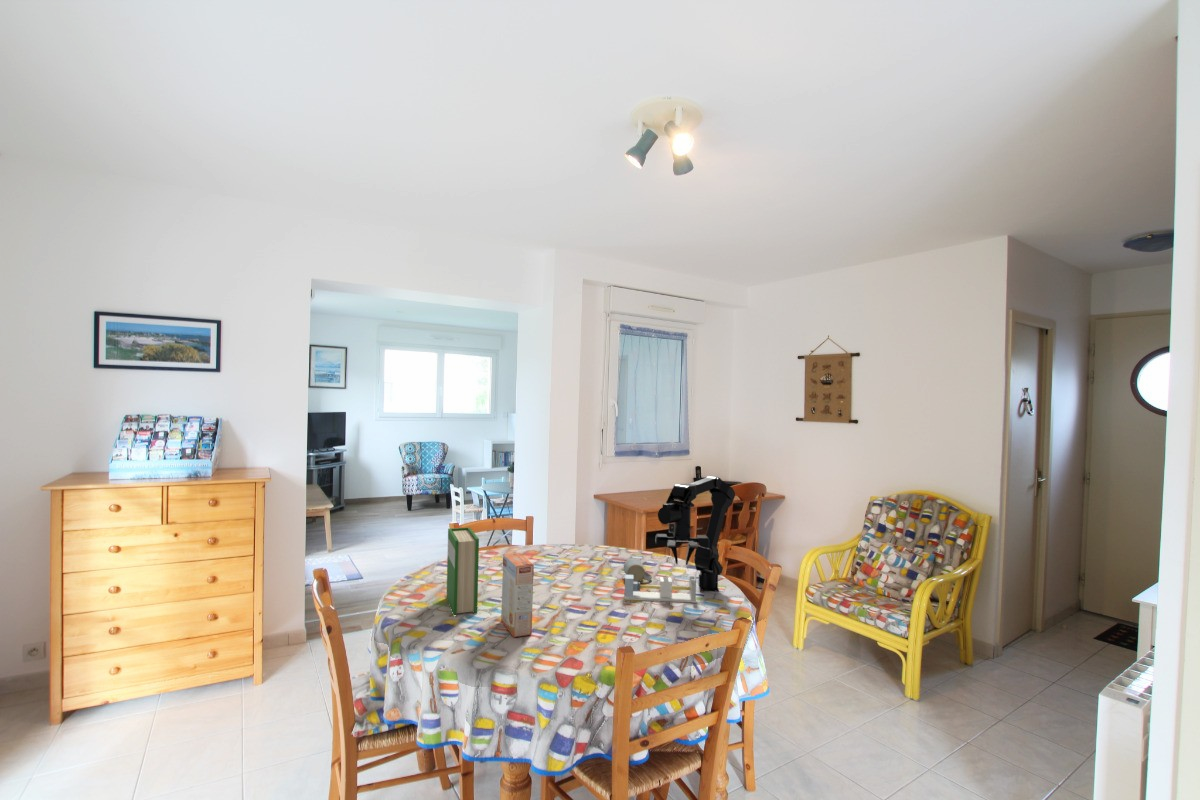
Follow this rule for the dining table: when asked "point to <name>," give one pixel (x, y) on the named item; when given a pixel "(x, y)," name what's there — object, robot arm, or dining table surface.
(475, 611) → the hardback book
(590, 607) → the dining table surface
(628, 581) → the cord rig
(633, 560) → the ceramic mug
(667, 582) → the marker sleeve
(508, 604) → the cracker box
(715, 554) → the robot arm
